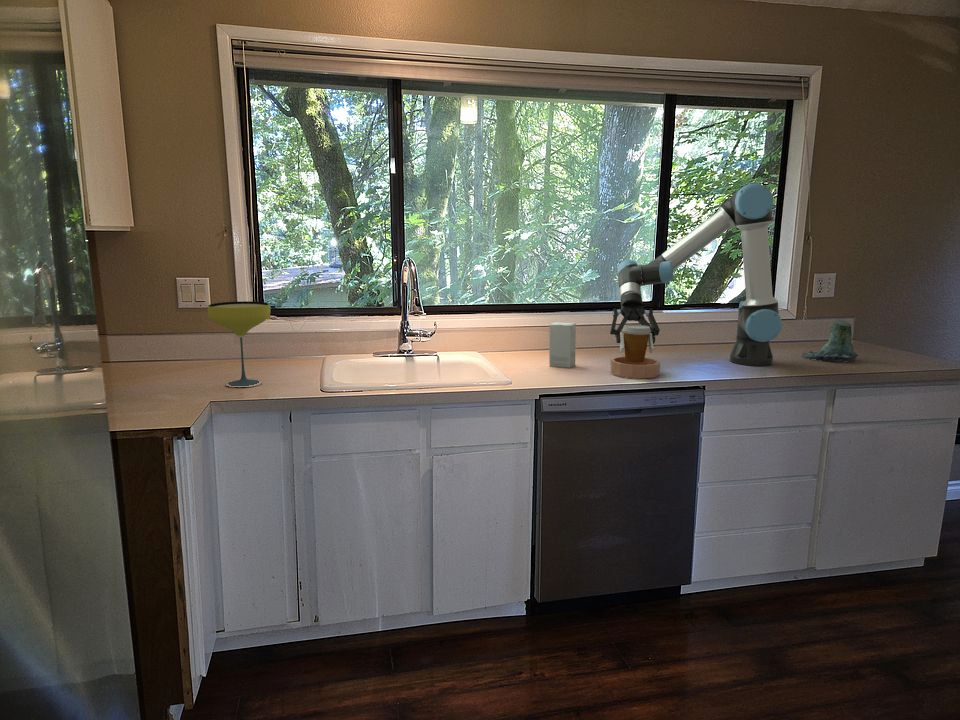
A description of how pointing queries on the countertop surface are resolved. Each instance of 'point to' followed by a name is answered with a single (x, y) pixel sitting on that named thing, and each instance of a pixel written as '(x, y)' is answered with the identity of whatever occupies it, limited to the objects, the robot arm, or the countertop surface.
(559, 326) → the skincare box
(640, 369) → the terracotta dish
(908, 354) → the countertop surface
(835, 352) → the tree stump
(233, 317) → the cocktail glass
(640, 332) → the disposable coffee cup
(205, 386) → the countertop surface
